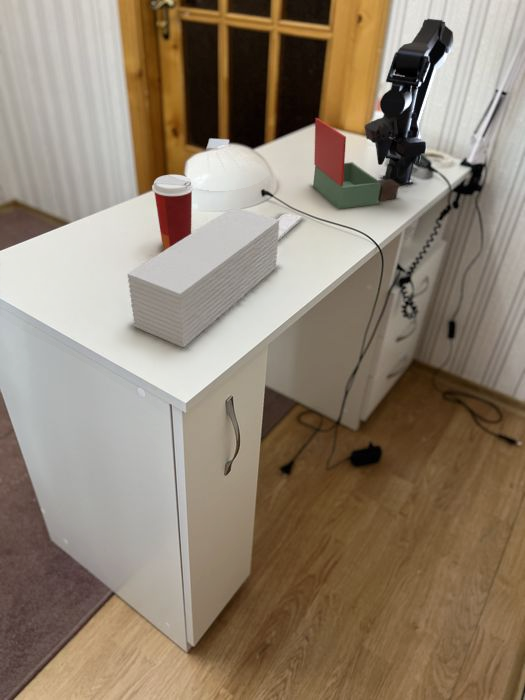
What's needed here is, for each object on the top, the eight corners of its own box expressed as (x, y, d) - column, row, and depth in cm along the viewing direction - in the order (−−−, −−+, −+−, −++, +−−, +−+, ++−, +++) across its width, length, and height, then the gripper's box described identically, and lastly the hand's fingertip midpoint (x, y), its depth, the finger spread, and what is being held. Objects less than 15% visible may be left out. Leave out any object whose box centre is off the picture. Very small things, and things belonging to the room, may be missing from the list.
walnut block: (388, 192, 145) (391, 178, 142) (396, 198, 142) (399, 184, 139) (372, 194, 143) (374, 180, 141) (380, 200, 140) (382, 186, 138)
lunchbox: (349, 182, 150) (352, 162, 146) (377, 204, 139) (381, 182, 135) (312, 186, 146) (315, 165, 143) (338, 209, 135) (341, 187, 132)
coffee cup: (202, 243, 118) (199, 177, 108) (185, 260, 112) (182, 191, 102) (168, 236, 120) (163, 170, 110) (150, 252, 114) (143, 184, 104)
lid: (317, 117, 135) (315, 118, 134) (346, 136, 124) (343, 137, 123) (316, 164, 142) (314, 164, 142) (343, 185, 131) (341, 186, 131)
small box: (227, 188, 142) (227, 148, 136) (206, 187, 142) (205, 147, 136) (229, 177, 148) (230, 138, 142) (209, 176, 148) (209, 137, 142)
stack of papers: (233, 253, 115) (233, 206, 108) (276, 267, 111) (279, 220, 104) (134, 326, 93) (127, 273, 86) (183, 347, 89) (180, 293, 82)
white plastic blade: (254, 239, 120) (254, 234, 120) (283, 215, 131) (283, 211, 130) (273, 244, 119) (274, 239, 118) (301, 220, 129) (302, 215, 128)
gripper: (353, 98, 133) (345, 161, 142) (394, 120, 119) (381, 187, 129) (392, 96, 136) (380, 157, 146) (435, 117, 123) (419, 183, 133)
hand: (389, 170), depth 138 cm, fingers open, 9 cm apart
